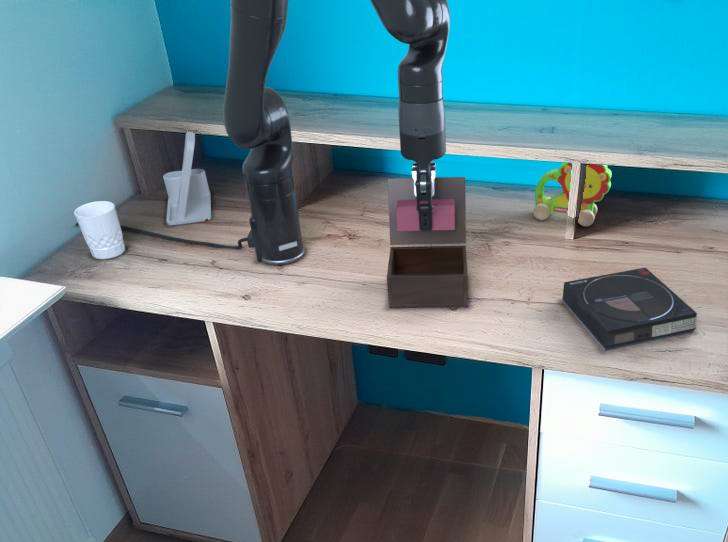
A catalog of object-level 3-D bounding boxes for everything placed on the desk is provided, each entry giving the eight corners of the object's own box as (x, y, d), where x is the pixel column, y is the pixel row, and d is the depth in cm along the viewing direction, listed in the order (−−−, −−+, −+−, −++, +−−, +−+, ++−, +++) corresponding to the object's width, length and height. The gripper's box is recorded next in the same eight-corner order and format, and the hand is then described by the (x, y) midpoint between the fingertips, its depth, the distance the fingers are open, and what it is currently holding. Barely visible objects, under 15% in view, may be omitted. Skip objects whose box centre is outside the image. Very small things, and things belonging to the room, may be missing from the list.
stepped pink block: (397, 231, 120) (395, 212, 118) (398, 218, 124) (397, 200, 122) (455, 230, 120) (454, 211, 118) (454, 217, 124) (454, 198, 122)
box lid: (465, 176, 128) (465, 176, 128) (387, 178, 128) (388, 178, 129) (466, 243, 131) (465, 243, 131) (390, 245, 131) (390, 244, 132)
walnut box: (467, 307, 126) (467, 275, 122) (389, 308, 127) (386, 276, 123) (465, 276, 135) (465, 245, 131) (392, 277, 136) (390, 246, 132)
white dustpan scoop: (169, 196, 171) (149, 123, 160) (211, 191, 173) (194, 118, 162) (166, 226, 158) (145, 148, 147) (212, 219, 160) (194, 142, 149)
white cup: (112, 240, 152) (97, 198, 147) (136, 248, 149) (122, 205, 143) (81, 255, 147) (65, 212, 141) (106, 264, 144) (90, 219, 138)
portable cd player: (606, 353, 114) (609, 333, 111) (562, 301, 127) (564, 282, 125) (694, 334, 117) (699, 315, 115) (642, 286, 130) (645, 267, 128)
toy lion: (531, 220, 155) (535, 153, 145) (537, 210, 159) (542, 144, 150) (603, 229, 150) (612, 161, 141) (607, 219, 154) (616, 152, 145)
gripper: (401, 113, 118) (406, 206, 128) (396, 141, 106) (403, 241, 116) (445, 111, 117) (447, 205, 128) (445, 140, 106) (447, 240, 116)
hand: (426, 222), depth 122 cm, fingers closed on stepped pink block, 5 cm apart
